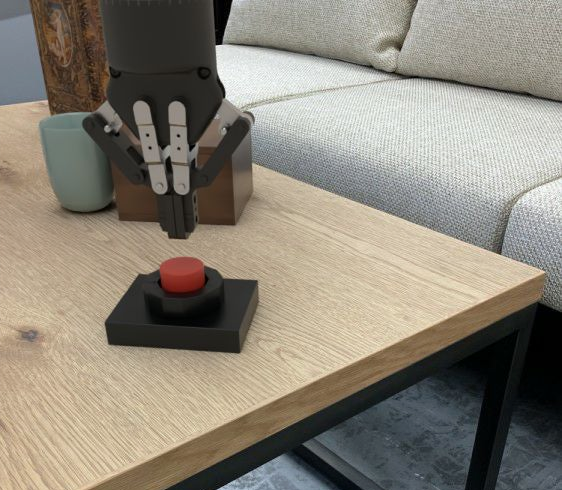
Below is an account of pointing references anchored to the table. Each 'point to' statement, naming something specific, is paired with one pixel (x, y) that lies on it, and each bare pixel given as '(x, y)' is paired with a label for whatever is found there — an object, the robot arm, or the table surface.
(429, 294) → the table surface
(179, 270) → the button
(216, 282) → the black button base
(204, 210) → the chest
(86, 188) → the cup
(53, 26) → the book
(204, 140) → the lid
